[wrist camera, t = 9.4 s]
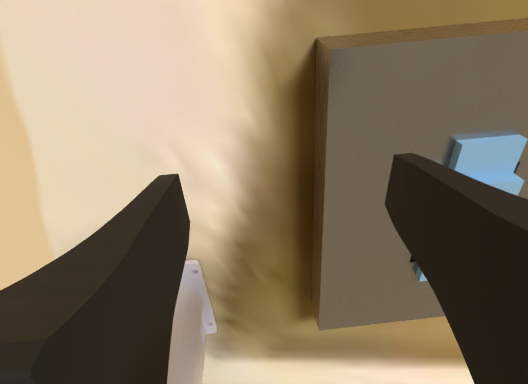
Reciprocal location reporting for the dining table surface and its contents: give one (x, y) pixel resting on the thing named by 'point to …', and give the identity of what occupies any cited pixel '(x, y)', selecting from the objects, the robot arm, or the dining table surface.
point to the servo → (488, 163)
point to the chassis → (399, 150)
